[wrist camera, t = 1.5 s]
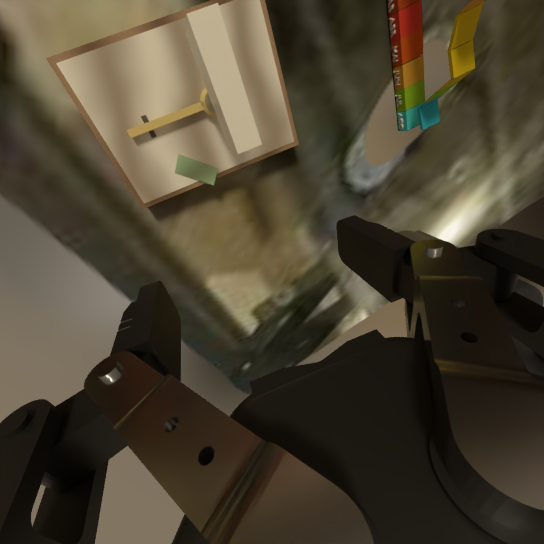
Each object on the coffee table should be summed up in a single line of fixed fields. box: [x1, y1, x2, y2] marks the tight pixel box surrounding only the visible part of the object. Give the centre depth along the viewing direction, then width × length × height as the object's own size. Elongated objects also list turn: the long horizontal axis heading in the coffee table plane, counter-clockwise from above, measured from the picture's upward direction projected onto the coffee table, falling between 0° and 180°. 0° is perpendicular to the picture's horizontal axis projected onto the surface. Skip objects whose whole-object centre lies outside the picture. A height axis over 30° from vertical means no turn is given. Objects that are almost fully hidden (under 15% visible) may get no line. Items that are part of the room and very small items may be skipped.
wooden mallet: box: [127, 3, 262, 154], centre depth 21 cm, size 10×8×10 cm
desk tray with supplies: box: [46, 0, 299, 209], centre depth 27 cm, size 20×14×3 cm
